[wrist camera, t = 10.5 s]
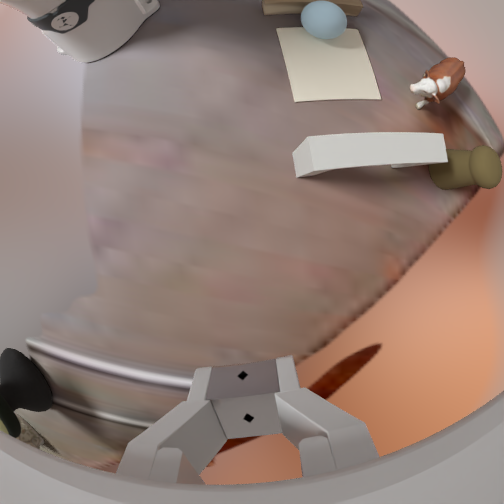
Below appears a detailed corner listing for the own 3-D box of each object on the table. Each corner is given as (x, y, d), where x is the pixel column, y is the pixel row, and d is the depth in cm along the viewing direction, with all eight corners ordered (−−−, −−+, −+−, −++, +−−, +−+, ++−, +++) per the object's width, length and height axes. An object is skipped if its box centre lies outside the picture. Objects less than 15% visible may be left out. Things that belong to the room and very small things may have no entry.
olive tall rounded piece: (431, 191, 31) (484, 194, 20) (425, 149, 30) (476, 139, 19) (459, 188, 31) (510, 191, 20) (453, 148, 29) (503, 141, 19)
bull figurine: (385, 95, 28) (415, 75, 20) (434, 65, 27) (462, 48, 19) (404, 122, 29) (438, 108, 21) (450, 88, 27) (481, 74, 19)
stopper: (261, 6, 26) (262, -6, 23) (353, 7, 25) (358, -3, 22) (264, 15, 26) (265, 3, 23) (357, 16, 25) (363, 6, 22)
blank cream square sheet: (275, 29, 27) (275, 28, 26) (357, 29, 26) (357, 29, 26) (294, 102, 29) (294, 101, 29) (380, 99, 29) (381, 99, 28)
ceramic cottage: (4, 415, 46) (-14, 440, 31) (12, 403, 44) (-10, 432, 30) (37, 446, 49) (22, 473, 35) (49, 438, 48) (32, 470, 33)
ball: (294, -3, 22) (307, 4, 20) (337, -2, 22) (355, 7, 19) (296, 32, 28) (308, 45, 25) (336, 32, 27) (353, 46, 25)
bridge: (292, 153, 30) (307, 136, 21) (400, 145, 30) (442, 133, 20) (296, 177, 31) (313, 171, 22) (404, 167, 30) (447, 162, 21)
